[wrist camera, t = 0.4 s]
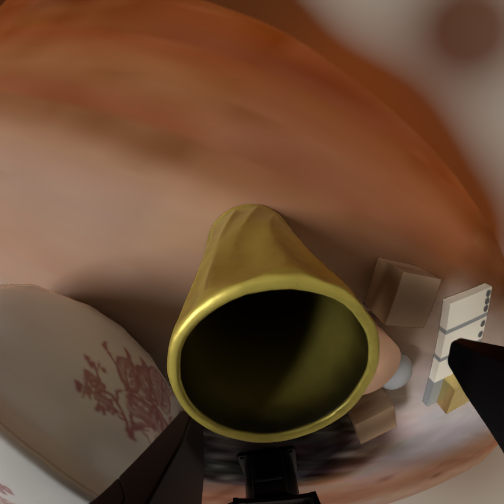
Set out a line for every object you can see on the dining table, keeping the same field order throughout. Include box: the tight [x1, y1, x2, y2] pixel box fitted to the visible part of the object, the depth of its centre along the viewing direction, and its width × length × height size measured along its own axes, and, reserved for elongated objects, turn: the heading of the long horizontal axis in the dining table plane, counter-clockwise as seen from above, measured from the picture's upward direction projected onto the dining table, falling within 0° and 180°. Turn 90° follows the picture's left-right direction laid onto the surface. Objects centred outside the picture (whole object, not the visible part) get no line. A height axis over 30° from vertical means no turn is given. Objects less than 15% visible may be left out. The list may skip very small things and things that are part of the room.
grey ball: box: [382, 352, 412, 390], centre depth 21 cm, size 4×4×4 cm
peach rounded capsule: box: [363, 321, 401, 395], centre depth 20 cm, size 5×5×5 cm
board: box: [423, 283, 492, 406], centre depth 23 cm, size 14×7×1 cm, turn 9°
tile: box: [437, 374, 469, 414], centre depth 22 cm, size 4×4×2 cm
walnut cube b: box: [364, 257, 441, 328], centre depth 19 cm, size 4×4×4 cm
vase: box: [167, 204, 380, 443], centre depth 13 cm, size 6×6×14 cm
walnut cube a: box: [347, 387, 397, 444], centre depth 22 cm, size 4×4×4 cm
